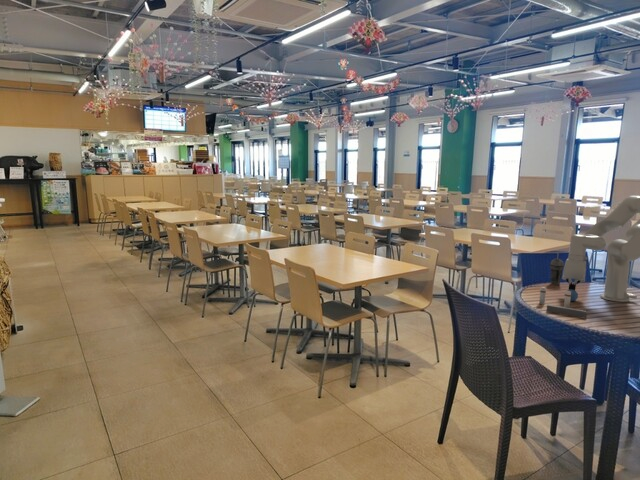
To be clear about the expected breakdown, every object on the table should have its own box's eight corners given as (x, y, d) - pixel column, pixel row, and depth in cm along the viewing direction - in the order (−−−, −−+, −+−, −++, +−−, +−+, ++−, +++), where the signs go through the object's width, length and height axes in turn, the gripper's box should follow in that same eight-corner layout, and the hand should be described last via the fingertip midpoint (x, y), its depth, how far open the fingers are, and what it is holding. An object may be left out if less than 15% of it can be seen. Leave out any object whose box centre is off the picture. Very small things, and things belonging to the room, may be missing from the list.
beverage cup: (548, 284, 255) (551, 251, 252) (548, 281, 261) (551, 249, 258) (562, 286, 252) (565, 252, 249) (562, 283, 258) (565, 250, 255)
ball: (578, 300, 223) (579, 289, 222) (576, 303, 218) (577, 291, 217) (564, 298, 227) (566, 287, 226) (563, 301, 222) (564, 290, 221)
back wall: (585, 317, 197) (586, 310, 197) (585, 318, 196) (586, 312, 195) (547, 310, 207) (547, 304, 206) (546, 311, 205) (546, 305, 205)
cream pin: (569, 307, 211) (571, 291, 210) (569, 309, 209) (570, 292, 208) (564, 306, 212) (565, 290, 211) (563, 308, 210) (565, 291, 209)
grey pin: (545, 303, 217) (546, 287, 216) (544, 304, 215) (545, 288, 214) (539, 302, 219) (541, 286, 217) (538, 304, 217) (540, 287, 215)
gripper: (593, 259, 225) (588, 292, 228) (561, 254, 234) (556, 287, 237) (592, 261, 219) (587, 295, 222) (559, 256, 228) (554, 290, 231)
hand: (571, 291), depth 230 cm, fingers closed
